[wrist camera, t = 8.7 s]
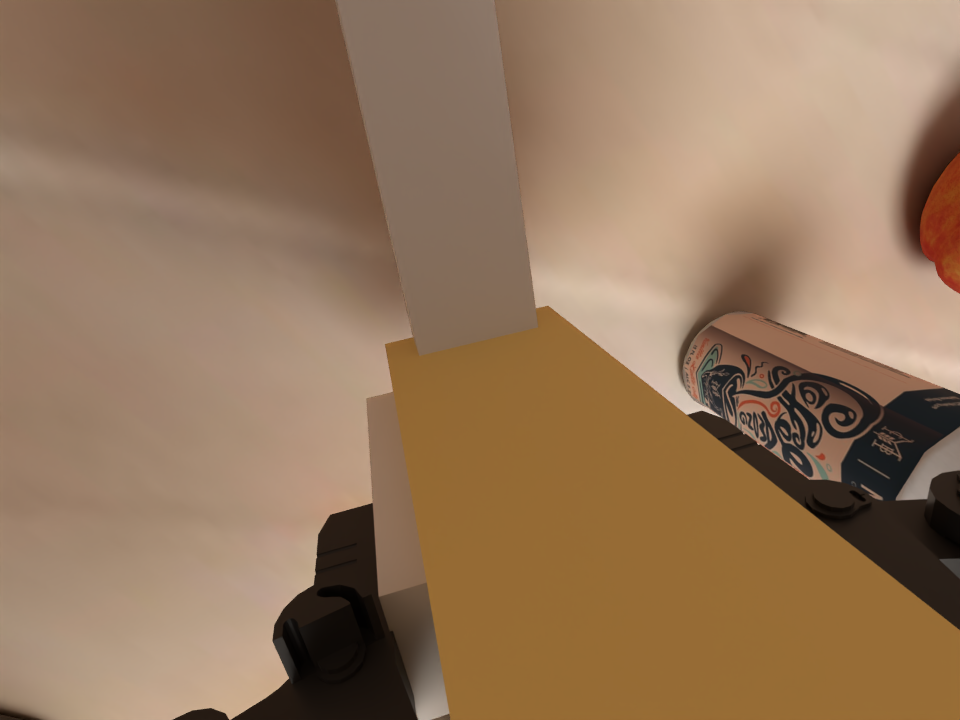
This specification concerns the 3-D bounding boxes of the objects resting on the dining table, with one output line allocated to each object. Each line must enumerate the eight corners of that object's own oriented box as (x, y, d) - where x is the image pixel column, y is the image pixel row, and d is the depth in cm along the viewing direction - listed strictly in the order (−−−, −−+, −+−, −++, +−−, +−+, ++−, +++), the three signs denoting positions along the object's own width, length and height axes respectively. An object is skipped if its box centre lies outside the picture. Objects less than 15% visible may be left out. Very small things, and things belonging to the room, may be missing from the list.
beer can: (669, 329, 24) (934, 473, 13) (763, 293, 25) (1092, 404, 14) (683, 417, 26) (925, 606, 15) (770, 382, 27) (1063, 541, 16)
